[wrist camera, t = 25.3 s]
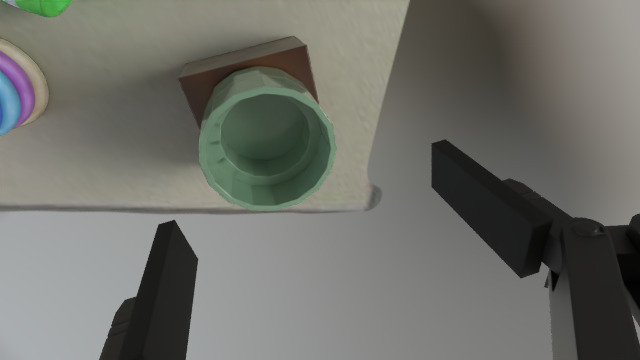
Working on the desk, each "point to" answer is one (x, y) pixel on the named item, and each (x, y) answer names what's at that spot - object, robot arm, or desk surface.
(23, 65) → the stacking toy
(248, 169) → the sage bowl
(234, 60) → the walnut stand
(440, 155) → the robot arm
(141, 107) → the desk surface
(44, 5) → the speaker
